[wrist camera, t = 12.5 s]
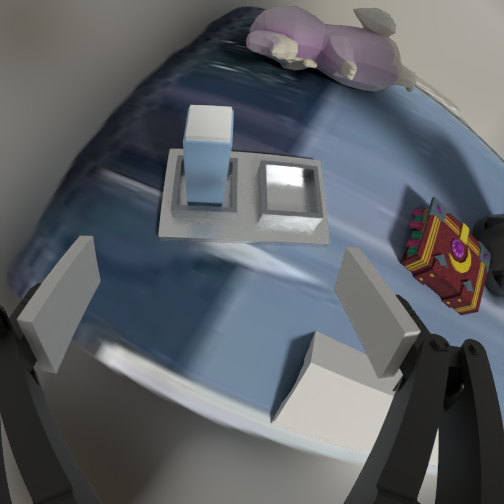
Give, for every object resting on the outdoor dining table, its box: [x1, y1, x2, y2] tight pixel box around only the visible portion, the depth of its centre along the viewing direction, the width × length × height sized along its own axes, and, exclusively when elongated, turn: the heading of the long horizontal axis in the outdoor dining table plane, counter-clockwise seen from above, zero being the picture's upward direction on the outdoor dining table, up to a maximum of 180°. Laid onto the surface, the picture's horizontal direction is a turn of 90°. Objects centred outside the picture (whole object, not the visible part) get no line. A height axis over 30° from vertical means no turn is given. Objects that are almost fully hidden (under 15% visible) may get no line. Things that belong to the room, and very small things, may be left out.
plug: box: [183, 105, 234, 207], centre depth 29 cm, size 4×5×13 cm
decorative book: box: [401, 197, 491, 315], centre depth 37 cm, size 11×16×5 cm
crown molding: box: [271, 331, 438, 466], centre depth 30 cm, size 29×12×4 cm, turn 64°
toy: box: [246, 6, 417, 92], centre depth 40 cm, size 29×17×30 cm
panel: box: [158, 149, 330, 247], centre depth 35 cm, size 20×12×3 cm, turn 91°
